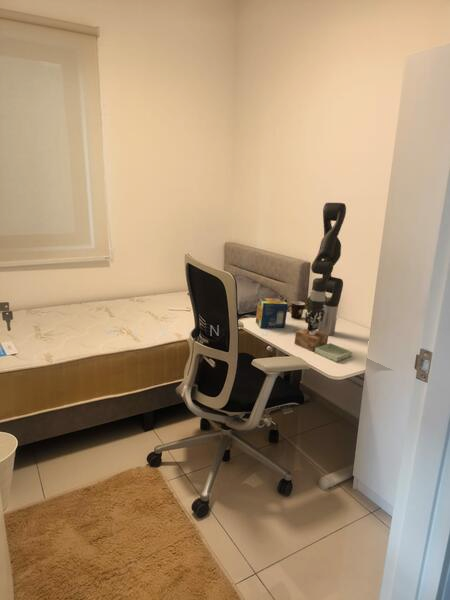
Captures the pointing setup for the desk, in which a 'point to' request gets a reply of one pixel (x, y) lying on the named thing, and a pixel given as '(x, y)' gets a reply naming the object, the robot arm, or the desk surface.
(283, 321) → the protein box
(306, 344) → the brown wooden block
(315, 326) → the steel pin
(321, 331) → the robot arm
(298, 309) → the coffee mug
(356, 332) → the desk surface
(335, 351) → the sage tray
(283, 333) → the desk surface
